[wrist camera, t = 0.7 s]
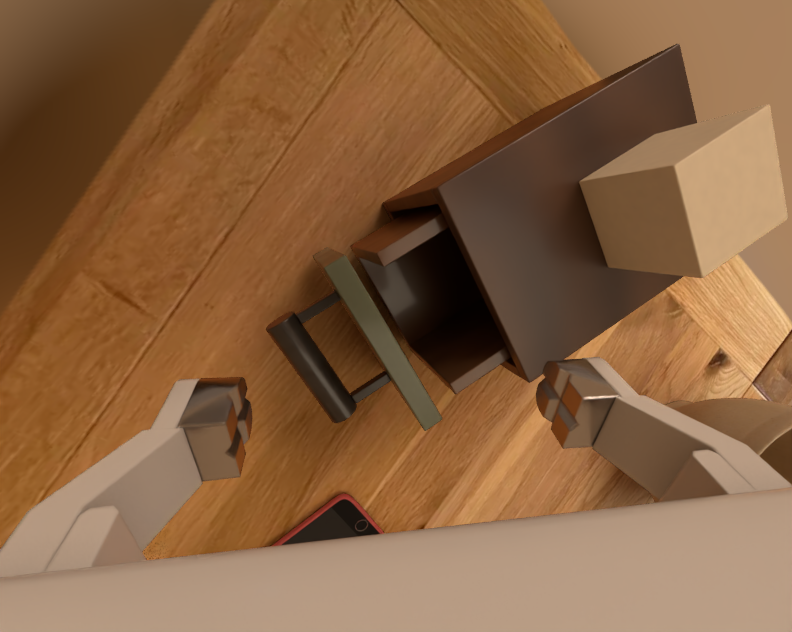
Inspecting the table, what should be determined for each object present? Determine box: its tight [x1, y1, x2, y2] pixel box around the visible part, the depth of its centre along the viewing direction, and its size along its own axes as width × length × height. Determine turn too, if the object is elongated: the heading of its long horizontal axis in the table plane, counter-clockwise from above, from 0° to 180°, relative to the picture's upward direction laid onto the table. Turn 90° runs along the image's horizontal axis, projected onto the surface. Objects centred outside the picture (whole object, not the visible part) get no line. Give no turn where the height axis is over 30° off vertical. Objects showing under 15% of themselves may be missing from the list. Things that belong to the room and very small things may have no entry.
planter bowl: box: [650, 398, 792, 503], centre depth 35 cm, size 16×16×11 cm
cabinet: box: [383, 44, 697, 383], centre depth 25 cm, size 15×12×11 cm
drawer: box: [266, 204, 511, 431], centre depth 24 cm, size 18×10×9 cm, turn 120°
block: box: [579, 105, 788, 278], centre depth 18 cm, size 5×5×5 cm
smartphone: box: [272, 494, 384, 546], centre depth 31 cm, size 7×1×14 cm
